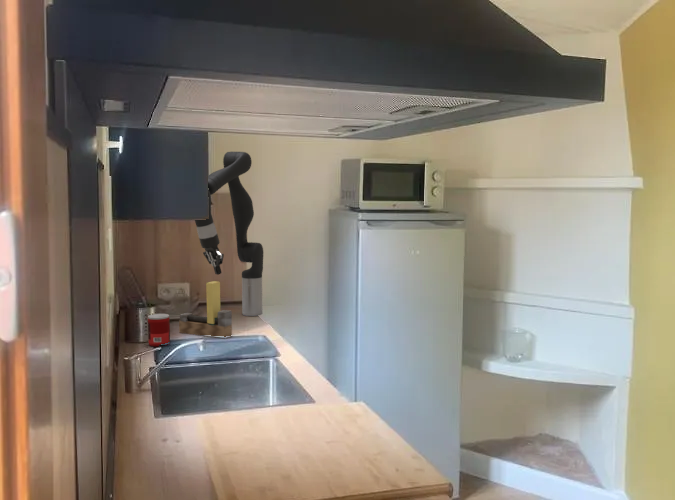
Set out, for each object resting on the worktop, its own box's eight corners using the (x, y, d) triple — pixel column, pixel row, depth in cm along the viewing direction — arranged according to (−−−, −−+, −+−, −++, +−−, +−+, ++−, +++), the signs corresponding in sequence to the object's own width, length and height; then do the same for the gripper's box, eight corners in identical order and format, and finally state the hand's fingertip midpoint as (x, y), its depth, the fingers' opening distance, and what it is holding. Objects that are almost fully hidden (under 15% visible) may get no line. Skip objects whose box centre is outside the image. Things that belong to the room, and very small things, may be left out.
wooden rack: (179, 332, 270) (178, 307, 269) (186, 330, 274) (185, 305, 273) (225, 338, 260) (224, 312, 258) (231, 336, 263) (231, 310, 262)
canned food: (174, 343, 252) (173, 315, 251) (155, 347, 246) (154, 318, 245) (163, 340, 257) (162, 312, 256) (144, 344, 251) (143, 315, 250)
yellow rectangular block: (207, 323, 263) (206, 282, 261) (214, 320, 267) (213, 281, 265) (213, 323, 261) (212, 283, 259) (220, 321, 266) (219, 281, 264)
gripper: (191, 236, 271) (202, 275, 277) (208, 239, 261) (219, 279, 267) (207, 230, 276) (217, 268, 281) (224, 233, 266) (234, 272, 271)
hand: (218, 273), depth 274 cm, fingers closed
